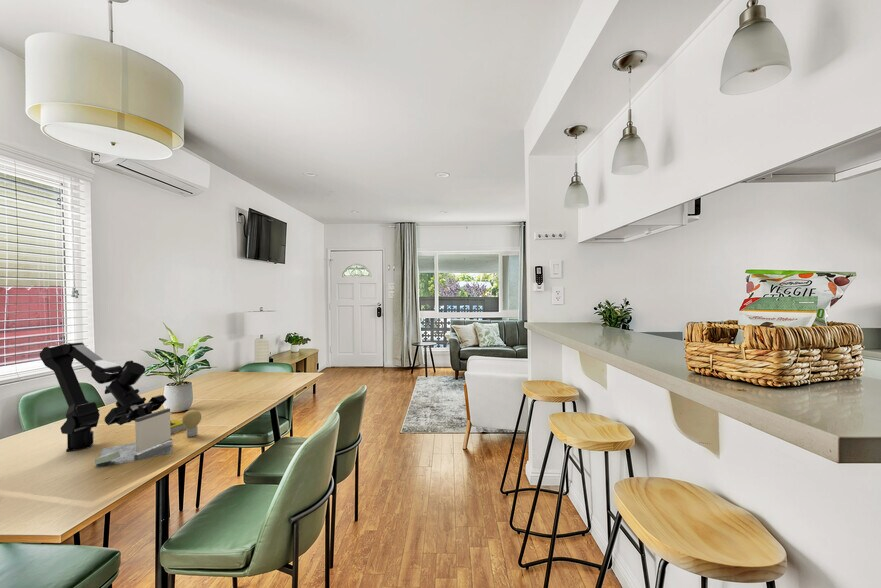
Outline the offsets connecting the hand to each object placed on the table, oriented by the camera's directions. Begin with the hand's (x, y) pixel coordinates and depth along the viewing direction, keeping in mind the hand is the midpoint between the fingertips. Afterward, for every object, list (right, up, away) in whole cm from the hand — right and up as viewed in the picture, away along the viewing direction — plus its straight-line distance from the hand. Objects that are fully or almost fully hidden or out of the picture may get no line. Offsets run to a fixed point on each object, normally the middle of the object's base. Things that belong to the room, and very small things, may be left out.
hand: (151, 427), depth 138 cm
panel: (-6, -10, +1) cm, 11 cm away
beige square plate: (+1, -6, 0) cm, 6 cm away
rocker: (-7, -9, -9) cm, 14 cm away
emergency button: (-10, -10, +24) cm, 28 cm away
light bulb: (+3, -10, +18) cm, 20 cm away
